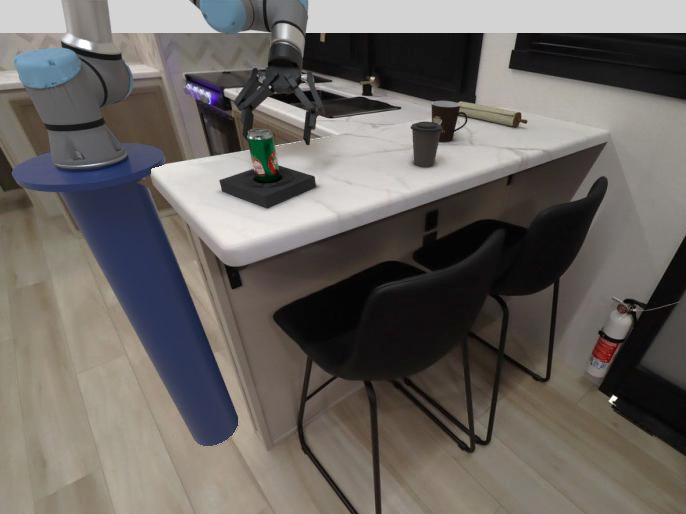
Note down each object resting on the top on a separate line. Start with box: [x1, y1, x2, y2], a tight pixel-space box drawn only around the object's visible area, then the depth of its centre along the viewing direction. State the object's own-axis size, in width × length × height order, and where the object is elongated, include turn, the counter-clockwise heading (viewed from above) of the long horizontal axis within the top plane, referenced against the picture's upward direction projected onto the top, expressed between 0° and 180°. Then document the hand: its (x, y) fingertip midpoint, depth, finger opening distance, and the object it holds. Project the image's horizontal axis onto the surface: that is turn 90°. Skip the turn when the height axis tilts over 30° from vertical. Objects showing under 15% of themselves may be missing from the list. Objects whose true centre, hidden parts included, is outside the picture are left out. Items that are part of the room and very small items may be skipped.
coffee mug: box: [430, 100, 468, 143], centre depth 114 cm, size 12×9×10 cm
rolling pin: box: [456, 100, 529, 128], centre depth 137 cm, size 32×6×5 cm, turn 49°
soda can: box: [246, 127, 280, 184], centre depth 79 cm, size 5×5×12 cm
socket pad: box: [218, 164, 317, 209], centre depth 82 cm, size 14×14×2 cm
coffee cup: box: [410, 121, 443, 168], centre depth 96 cm, size 8×8×10 cm
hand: (276, 140), depth 85 cm, fingers open, 13 cm apart
